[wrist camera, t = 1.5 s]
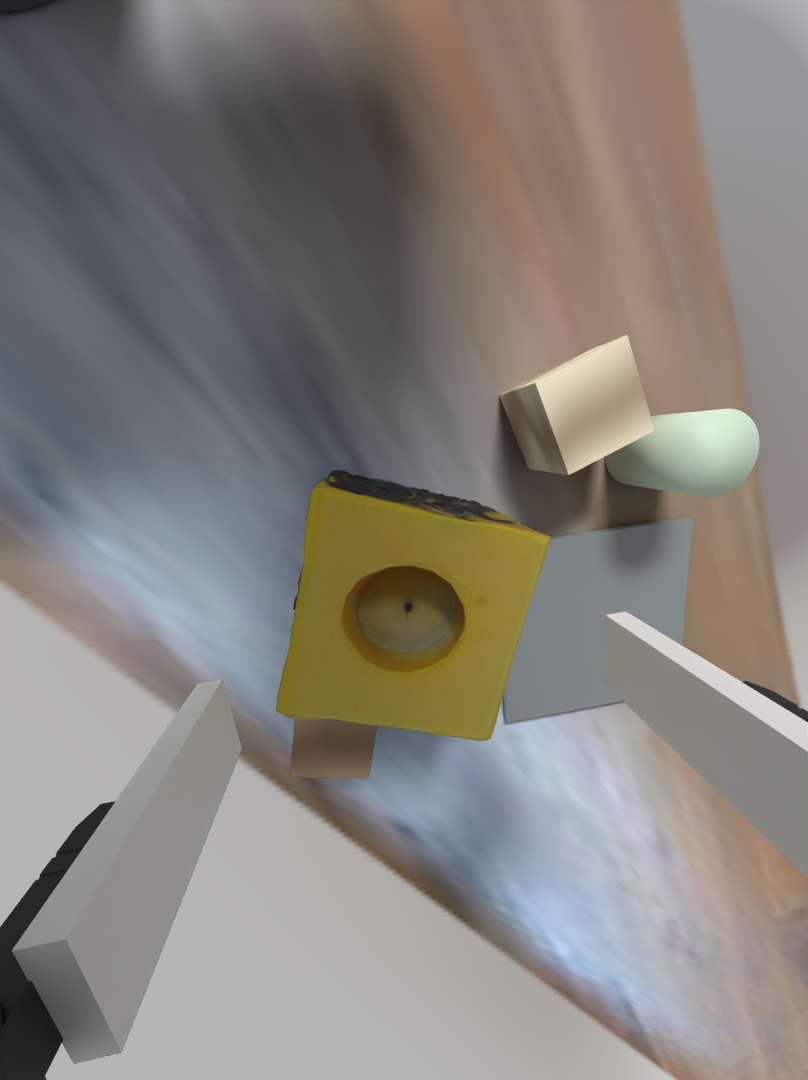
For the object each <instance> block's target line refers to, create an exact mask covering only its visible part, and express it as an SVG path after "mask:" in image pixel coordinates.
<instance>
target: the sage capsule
mask: <svg viewBox="0 0 808 1080" xmlns="http://www.w3.org/2000/svg"><path fill="white" fill-rule="evenodd" d="M650 417H651V420H652V424H653V427H654V431H653V432H651V433H649V434H647V435H645V436H643V437H641V438H639V439H638V440H636V441H634V442H632V443H630V444H628V445H626V446H624V447H622V448H620V449H618V450H616V451H614V452H612V453H610V454H609V455H607V456H605V463H606V467H607V469H608V472H609V473H610V475H611V476H612V477H613V478H614V479H615V480H616V481H618V482H620V483H622V484H626V485H632V486H639V487H645V488H652V489H658V490H665V491H671V492H677V493H684V494H690V495H697V496H703V497H717V496H721V495H724V494H726V493H728V492H730V491H732V490H734V489H735V488H736V487H738V486H739V485H740V484H741V483H742V482H743V481H744V480H745V479H746V478H747V476H748V475H749V473H750V472H751V470H752V468H753V467H754V464H755V462H756V459H757V456H758V452H759V434H758V430H757V427H756V425H755V423H754V422H753V420H752V419H751V418H750V417H749V416H748V415H746V414H745V413H743V412H741V411H739V410H735V409H720V410H709V411H699V412H688V413H677V414H667V415H656V416H650Z"/></svg>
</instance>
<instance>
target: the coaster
mask: <svg viewBox="0 0 808 1080" xmlns="http://www.w3.org/2000/svg"><path fill="white" fill-rule="evenodd" d="M692 529H693V518H689V517H682V518H675V519H668V520H662V521H655V522H648V523H641V524H634V525H628V526H621V527H614V528H607V529H600V530H594V531H587V532H580V533H573V534H567V535H560V536H553V537H550V540H549V544H548V548H547V552H546V556H545V561H544V563H543V566H542V569H541V572H540V575H539V578H538V580H537V583H536V586H535V589H534V592H533V595H532V599H531V602H530V605H529V608H528V611H527V614H526V618H525V621H524V624H523V627H522V631H521V634H520V637H519V640H518V644H517V647H516V651H515V654H514V658H513V661H512V664H511V668H510V672H509V676H508V680H507V684H506V687H505V691H504V694H503V700H504V717H505V719H506V721H507V723H509V722H515V721H520V720H525V719H531V718H536V717H541V716H547V715H552V714H557V713H563V712H568V711H573V710H579V709H584V708H589V707H595V706H600V705H605V704H611V703H616V702H621V701H623V700H622V699H621V698H620V697H619V696H617V695H616V694H615V693H614V692H613V691H612V690H611V689H610V688H609V687H608V686H607V685H606V684H605V683H604V672H605V615H608V614H614V613H620V612H628V613H629V614H631V615H632V616H634V617H636V618H637V619H639V620H641V621H642V622H644V623H646V624H647V625H649V626H650V627H652V628H654V629H655V630H657V631H659V632H660V633H662V634H664V635H665V636H667V637H669V638H670V639H672V640H673V641H675V642H677V643H678V644H680V645H682V641H683V630H684V619H685V608H686V596H687V585H688V574H689V563H690V551H691V540H692Z"/></svg>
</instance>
